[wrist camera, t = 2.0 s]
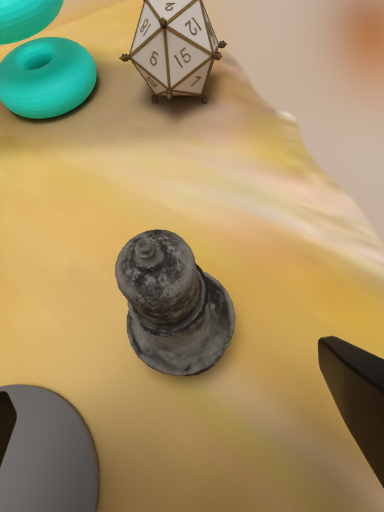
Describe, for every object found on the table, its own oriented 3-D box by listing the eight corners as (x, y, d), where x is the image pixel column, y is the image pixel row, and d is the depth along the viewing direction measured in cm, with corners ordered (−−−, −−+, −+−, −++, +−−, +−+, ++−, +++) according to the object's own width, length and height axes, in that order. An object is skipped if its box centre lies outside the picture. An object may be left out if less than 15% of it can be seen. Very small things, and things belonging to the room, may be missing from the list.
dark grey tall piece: (128, 365, 19) (7, 311, 9) (159, 280, 22) (94, 153, 11) (220, 393, 18) (214, 372, 7) (242, 300, 20) (261, 180, 10)
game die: (168, 122, 34) (104, 28, 29) (234, 71, 32) (178, -40, 27) (172, 142, 26) (87, 19, 21) (259, 77, 24) (188, -75, 19)
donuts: (42, -72, 26) (64, -22, 22) (89, 51, 35) (111, 104, 30) (-76, -37, 25) (-79, 22, 21) (3, 79, 34) (13, 138, 30)
